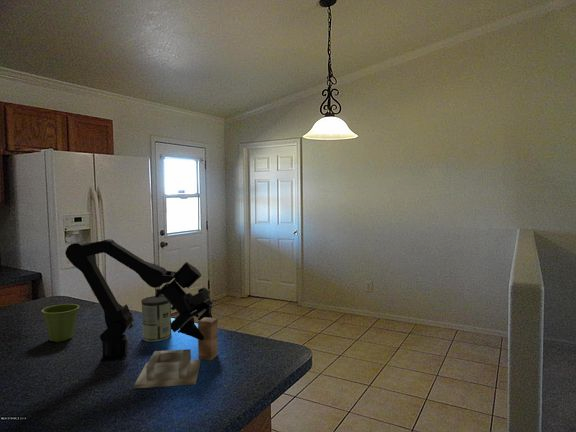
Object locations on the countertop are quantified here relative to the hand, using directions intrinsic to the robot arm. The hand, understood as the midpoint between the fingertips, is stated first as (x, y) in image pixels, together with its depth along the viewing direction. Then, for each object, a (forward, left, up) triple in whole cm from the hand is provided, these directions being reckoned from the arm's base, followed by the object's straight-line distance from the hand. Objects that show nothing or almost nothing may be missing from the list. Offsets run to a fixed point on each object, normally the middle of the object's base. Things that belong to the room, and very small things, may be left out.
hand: (209, 334), depth 120 cm
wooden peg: (-1, 0, -7) cm, 7 cm away
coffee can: (-21, +21, -8) cm, 30 cm away
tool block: (-11, -11, -7) cm, 17 cm away
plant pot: (-55, +24, -8) cm, 60 cm away
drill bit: (-36, +35, -8) cm, 51 cm away
